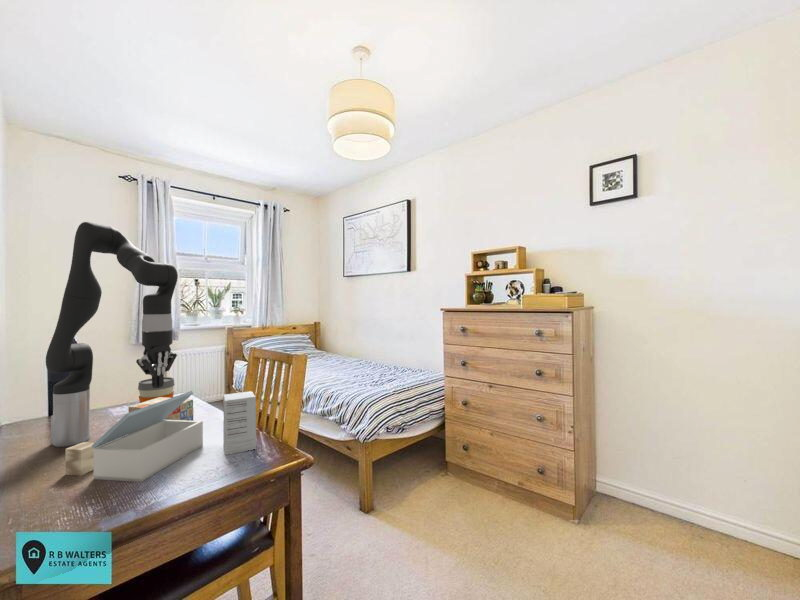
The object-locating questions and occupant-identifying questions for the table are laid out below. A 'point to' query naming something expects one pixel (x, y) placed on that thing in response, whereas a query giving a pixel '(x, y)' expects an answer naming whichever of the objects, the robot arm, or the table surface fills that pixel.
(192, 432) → the storage box
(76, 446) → the beech block
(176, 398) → the box lid
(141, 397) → the reusable coffee cup
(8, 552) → the table surface
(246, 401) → the supplement box
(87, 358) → the robot arm
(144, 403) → the stack of blocks
